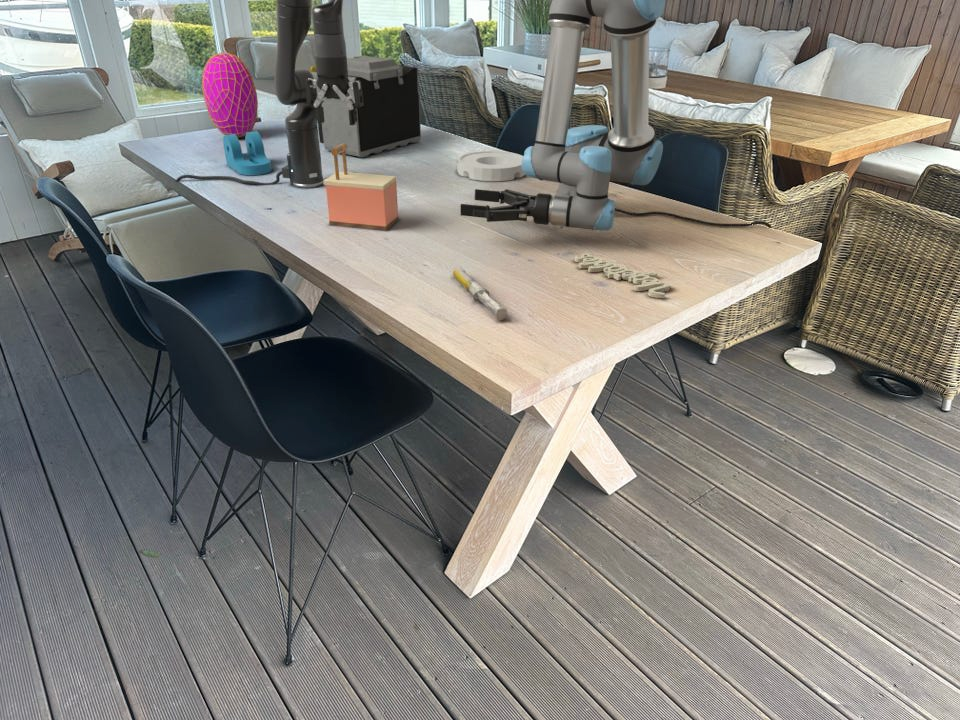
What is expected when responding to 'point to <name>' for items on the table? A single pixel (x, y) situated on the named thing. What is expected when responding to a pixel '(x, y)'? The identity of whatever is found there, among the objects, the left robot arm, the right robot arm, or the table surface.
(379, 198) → the chest
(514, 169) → the ashtray
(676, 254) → the table surface
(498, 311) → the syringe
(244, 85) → the decorative egg
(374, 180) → the lid
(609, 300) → the table surface
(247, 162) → the camera mount
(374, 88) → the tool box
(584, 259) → the decorative sign
